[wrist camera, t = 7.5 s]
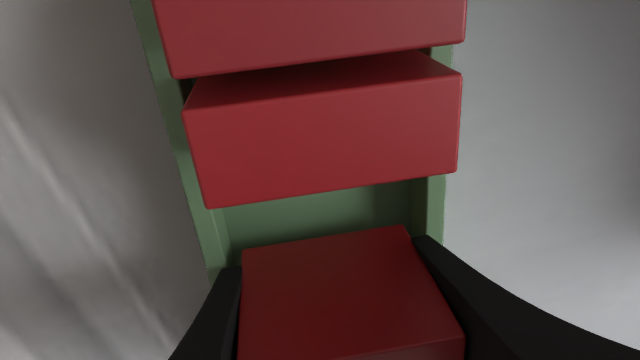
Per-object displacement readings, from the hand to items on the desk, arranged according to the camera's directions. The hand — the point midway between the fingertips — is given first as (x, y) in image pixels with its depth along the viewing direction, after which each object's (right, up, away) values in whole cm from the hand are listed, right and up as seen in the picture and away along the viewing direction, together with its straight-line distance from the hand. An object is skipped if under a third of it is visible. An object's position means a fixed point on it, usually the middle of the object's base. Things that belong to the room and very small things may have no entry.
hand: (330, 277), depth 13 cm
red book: (0, 0, +1) cm, 1 cm away
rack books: (-1, +7, -2) cm, 7 cm away
